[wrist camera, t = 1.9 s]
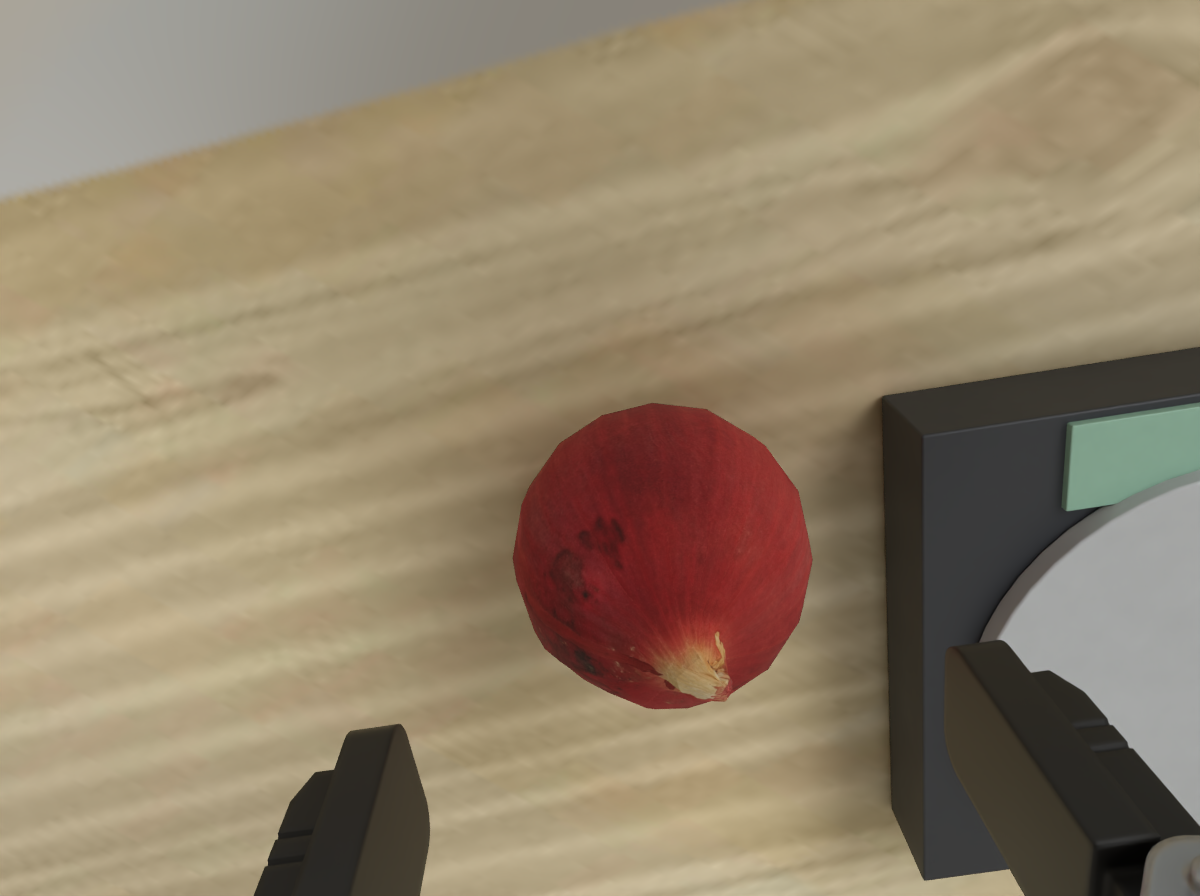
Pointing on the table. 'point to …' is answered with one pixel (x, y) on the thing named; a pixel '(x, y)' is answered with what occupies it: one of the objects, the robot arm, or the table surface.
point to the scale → (1043, 568)
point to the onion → (663, 555)
